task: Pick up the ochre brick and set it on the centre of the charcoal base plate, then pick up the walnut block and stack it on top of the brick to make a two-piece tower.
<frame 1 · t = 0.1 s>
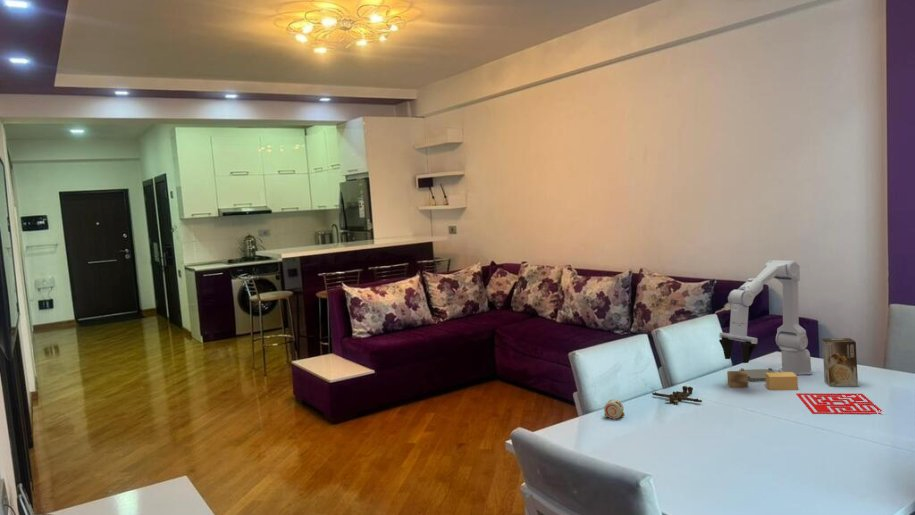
hand: (736, 360, 221), 11 cm above the table, tool pointing down, fingers open, 7 cm apart
base plate: (759, 376, 235), on the table
brick: (781, 388, 220), on the table
cinnamon roll: (614, 418, 204), on the table
brown crossed rod frame: (679, 400, 218), on the table
coffee box: (840, 384, 219), on the table
maze puzzle: (838, 405, 200), on the table
walnut block: (737, 386, 226), on the table
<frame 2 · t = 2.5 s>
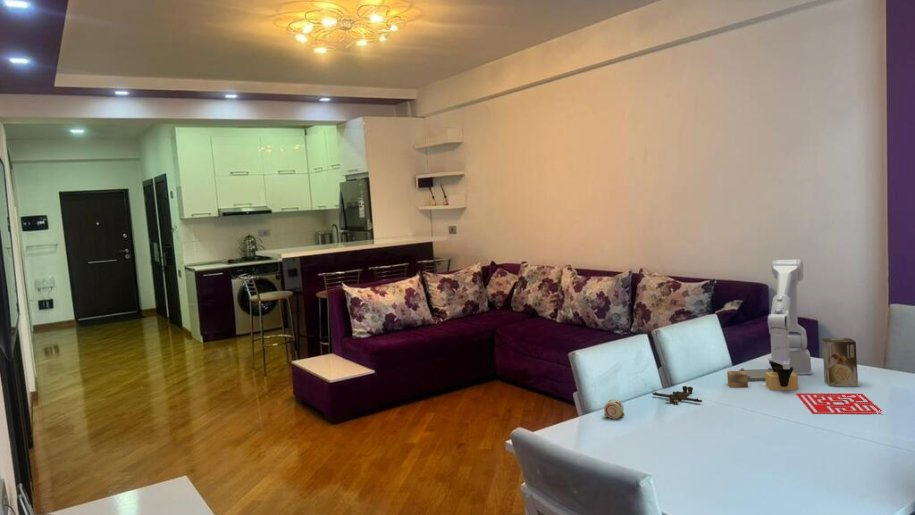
hand: (781, 383, 220), 1 cm above the table, tool pointing down, fingers closed on brick, 6 cm apart
brick: (781, 387, 220), on the table, touching gripper
everything else where it was.
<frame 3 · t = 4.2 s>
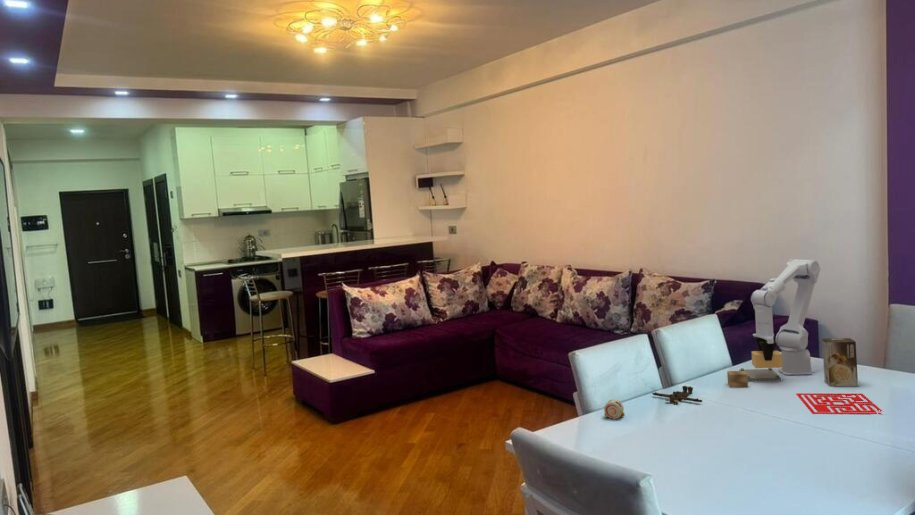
hand: (765, 358, 229), 8 cm above the table, tool pointing down, fingers closed on brick, 5 cm apart
brick: (767, 365, 229), point 5 cm above the table, touching gripper
everything else where it was.
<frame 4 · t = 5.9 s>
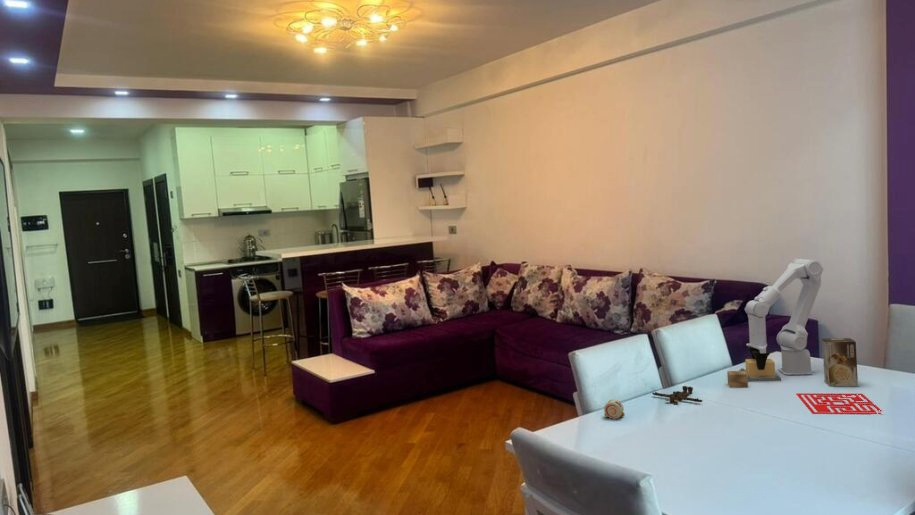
hand: (759, 367, 234), 4 cm above the table, tool pointing down, fingers closed on brick, 5 cm apart
brick: (760, 373, 234), point 1 cm above the table, touching base plate, gripper
everything else where it was.
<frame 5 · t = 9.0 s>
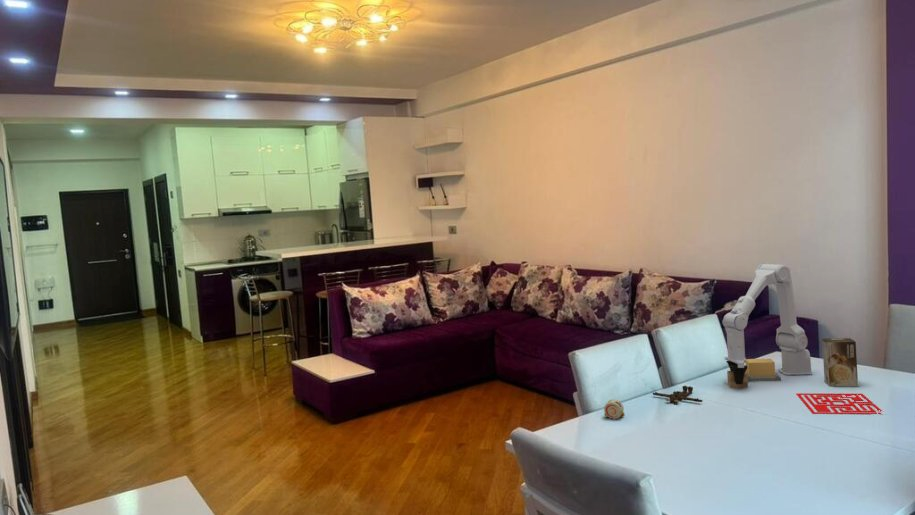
hand: (737, 381, 226), 1 cm above the table, tool pointing down, fingers closed on walnut block, 4 cm apart
brick: (760, 373, 234), point 1 cm above the table, touching base plate
walnut block: (737, 385, 226), on the table, touching gripper
everything else where it was.
when the fingers open (9 cm above the table, at t = 12.5 s): walnut block stays where it is, resting on brick.
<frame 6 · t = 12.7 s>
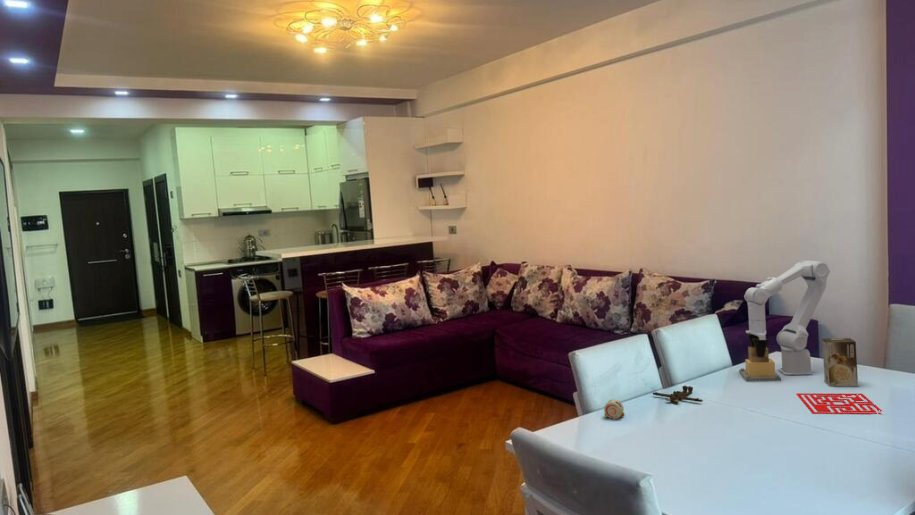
hand: (758, 354, 234), 9 cm above the table, tool pointing down, fingers open, 6 cm apart
brick: (760, 373, 234), point 1 cm above the table, touching base plate, walnut block
walnut block: (758, 360, 234), point 6 cm above the table, touching brick
everything else where it was.
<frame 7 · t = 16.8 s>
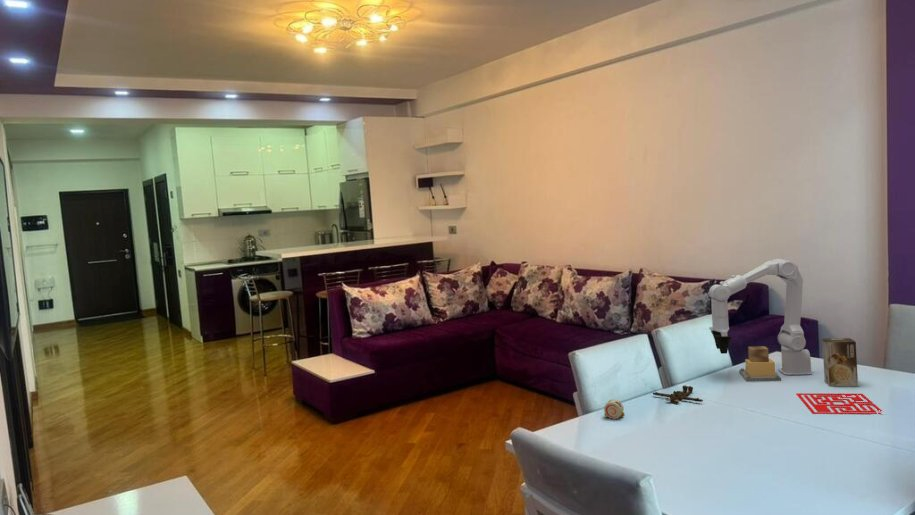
hand: (721, 350, 237), 10 cm above the table, tool pointing down, fingers open, 7 cm apart
nothing on the table moved.
at the end: brick 0.3 cm off-centre on the base plate, point 1.2 cm above the base plate's base; walnut block 0.4 cm from the brick (horizontally); walnut block point 6.2 cm above the table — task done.
